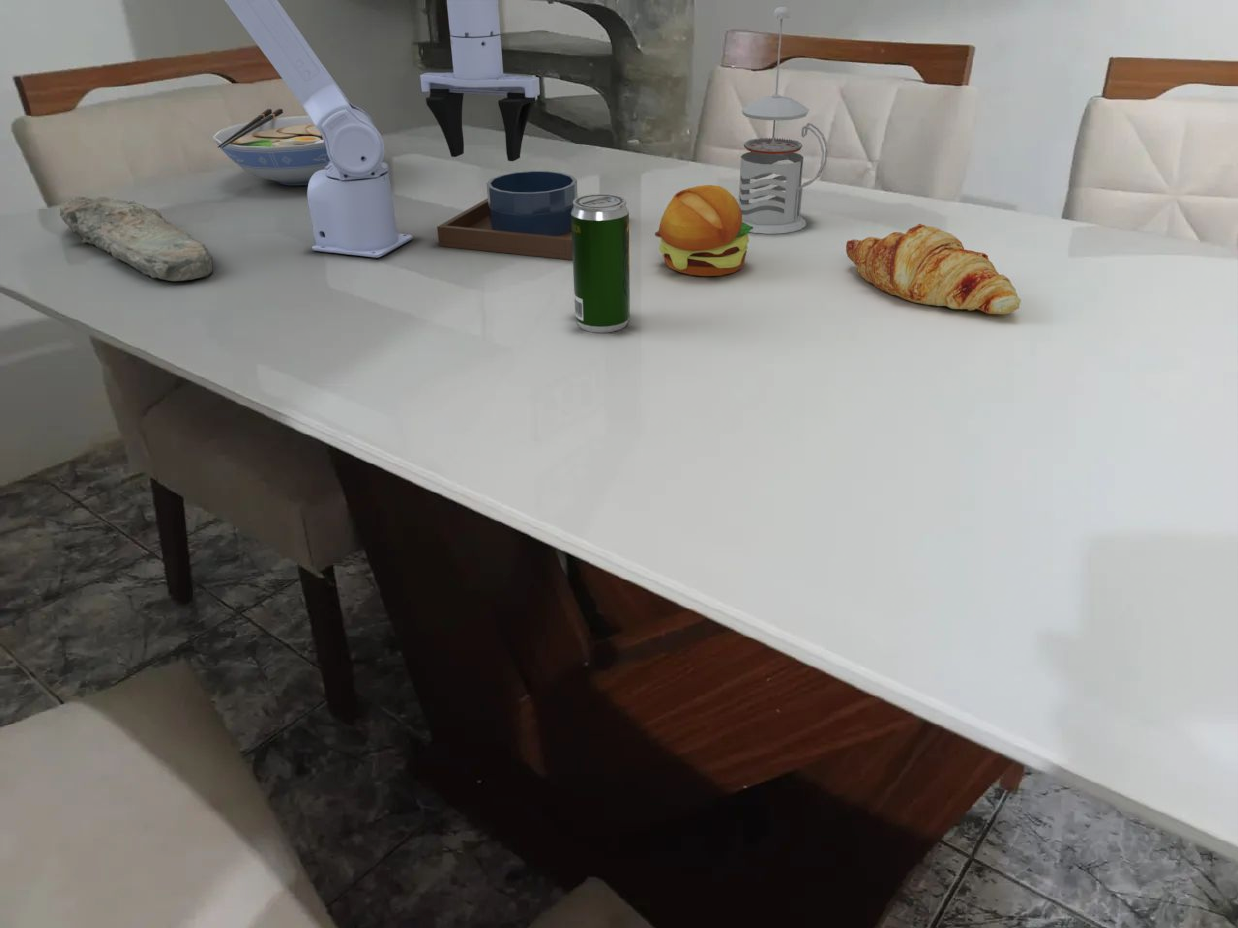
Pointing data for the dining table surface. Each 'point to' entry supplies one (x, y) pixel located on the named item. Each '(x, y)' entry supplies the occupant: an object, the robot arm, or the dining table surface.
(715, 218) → the cheeseburger
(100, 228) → the elongated rock
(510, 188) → the blue bowl
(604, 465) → the dining table surface
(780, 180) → the french press
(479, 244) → the serving tray
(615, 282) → the beer can
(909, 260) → the croissant
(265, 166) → the ramen bowl
